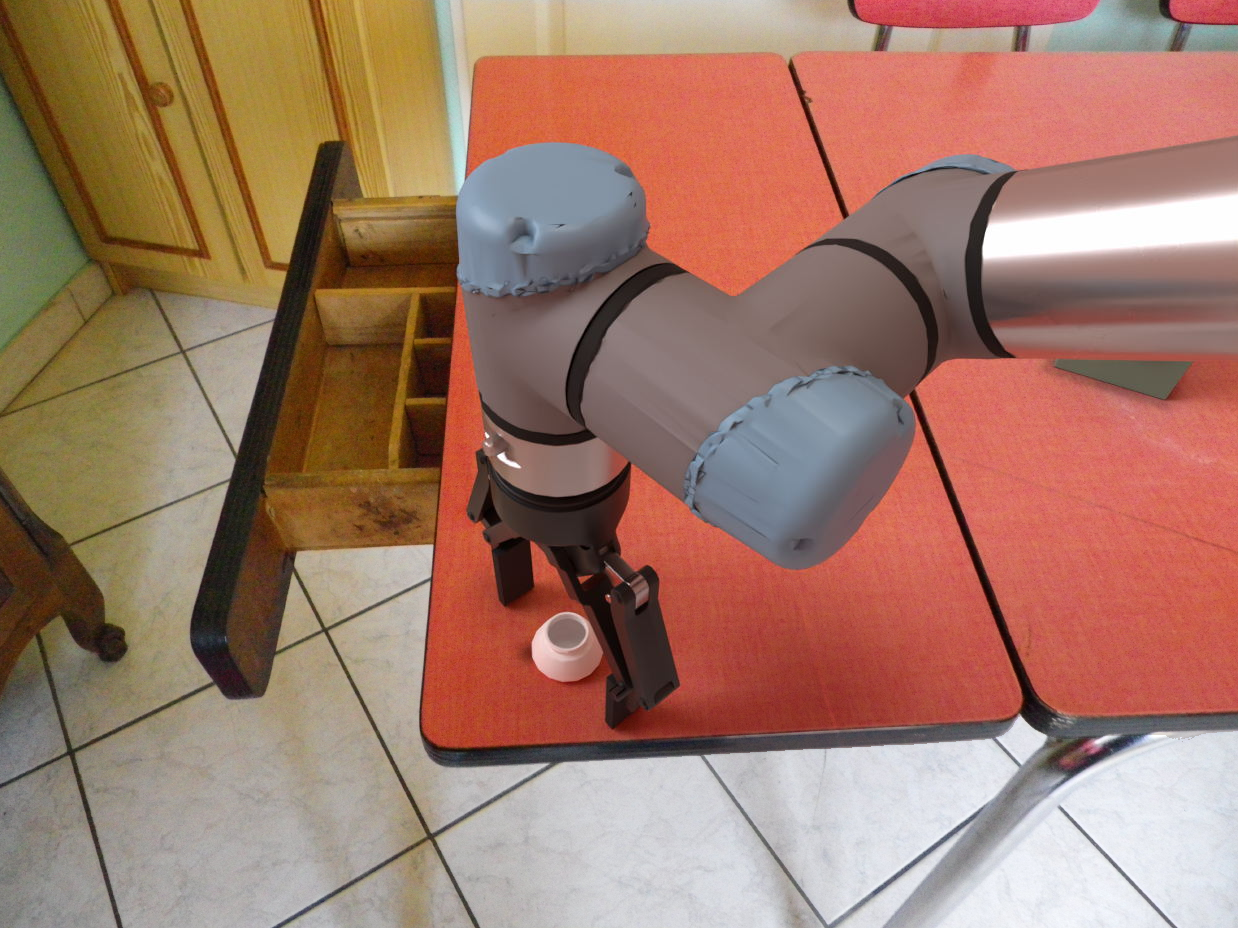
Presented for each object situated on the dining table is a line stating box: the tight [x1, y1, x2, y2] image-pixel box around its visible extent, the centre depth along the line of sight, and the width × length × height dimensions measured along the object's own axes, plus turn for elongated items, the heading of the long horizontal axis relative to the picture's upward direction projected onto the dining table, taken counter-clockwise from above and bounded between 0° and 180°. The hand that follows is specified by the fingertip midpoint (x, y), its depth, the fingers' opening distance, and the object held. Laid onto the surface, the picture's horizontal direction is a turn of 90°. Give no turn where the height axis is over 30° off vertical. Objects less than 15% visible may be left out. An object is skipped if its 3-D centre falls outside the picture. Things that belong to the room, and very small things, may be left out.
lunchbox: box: [1053, 359, 1194, 401], centre depth 81 cm, size 15×11×7 cm
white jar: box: [531, 611, 604, 683], centre depth 59 cm, size 5×3×5 cm
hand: (567, 650), depth 60 cm, fingers open, 11 cm apart
